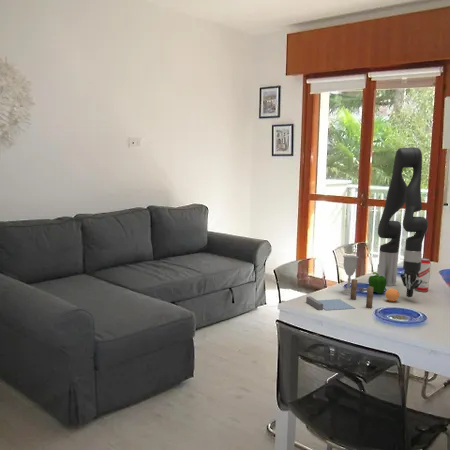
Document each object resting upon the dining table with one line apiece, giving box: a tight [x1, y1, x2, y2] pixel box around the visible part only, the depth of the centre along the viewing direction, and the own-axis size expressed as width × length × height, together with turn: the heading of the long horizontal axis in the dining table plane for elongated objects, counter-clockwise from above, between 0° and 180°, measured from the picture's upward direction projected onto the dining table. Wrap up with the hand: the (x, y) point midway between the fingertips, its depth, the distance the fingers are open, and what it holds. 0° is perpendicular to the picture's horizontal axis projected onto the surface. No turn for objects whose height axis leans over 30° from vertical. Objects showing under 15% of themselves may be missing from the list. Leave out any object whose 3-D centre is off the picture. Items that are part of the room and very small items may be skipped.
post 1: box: [349, 278, 358, 301], centre depth 229 cm, size 3×3×9 cm
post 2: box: [365, 285, 374, 309], centre depth 216 cm, size 3×3×9 cm
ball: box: [384, 287, 400, 302], centre depth 227 cm, size 6×6×6 cm
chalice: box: [342, 254, 360, 296], centre depth 238 cm, size 7×7×18 cm
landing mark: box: [316, 298, 356, 311], centre depth 219 cm, size 14×14×1 cm
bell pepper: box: [368, 271, 387, 294], centre depth 242 cm, size 8×8×10 cm
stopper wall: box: [305, 296, 324, 311], centre depth 217 cm, size 12×2×2 cm, turn 16°
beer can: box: [415, 257, 431, 293], centre depth 248 cm, size 6×6×16 cm
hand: (409, 296), depth 230 cm, fingers closed
